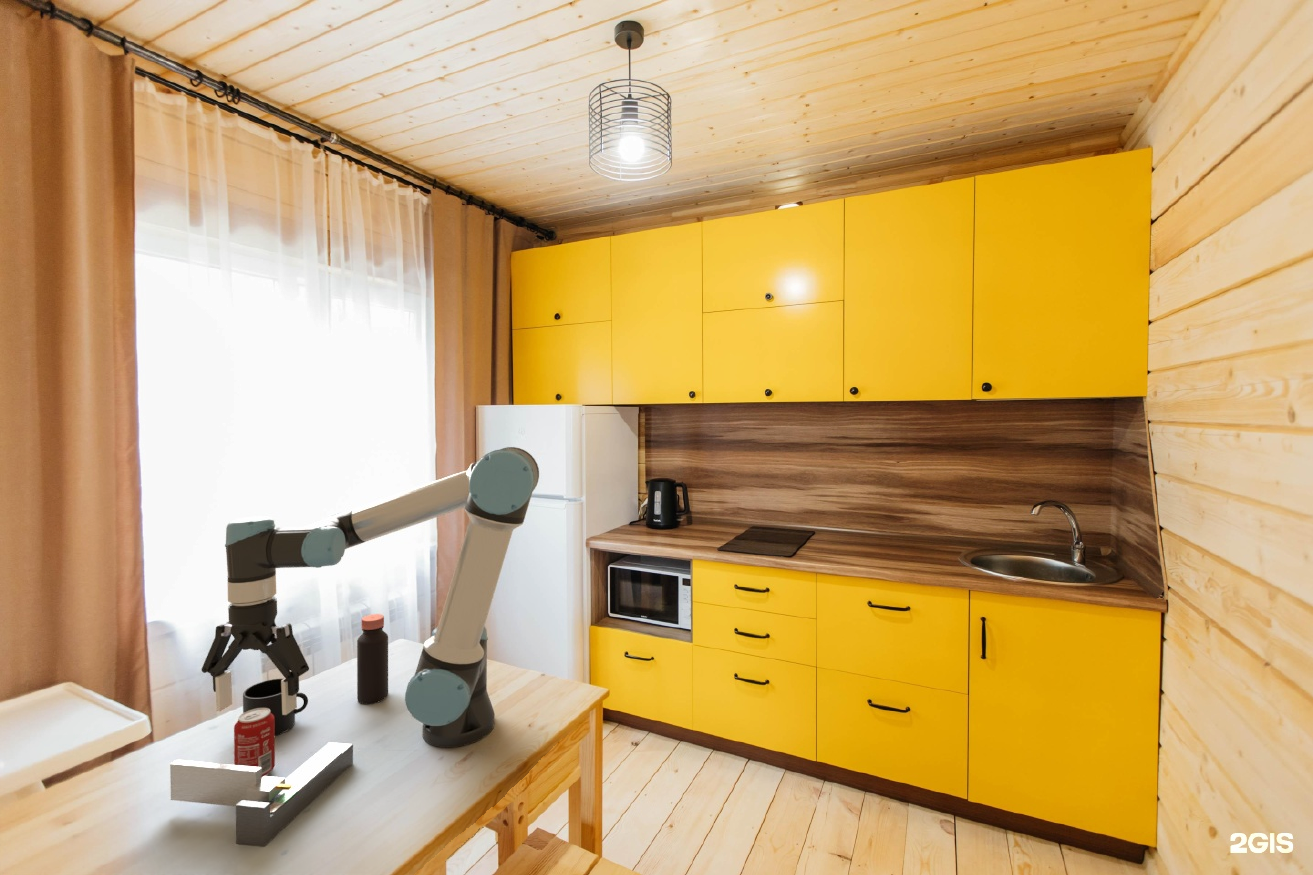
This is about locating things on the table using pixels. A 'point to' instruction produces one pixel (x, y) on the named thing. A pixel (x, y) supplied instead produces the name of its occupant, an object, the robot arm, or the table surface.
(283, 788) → the gauge paddle
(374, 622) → the bottle
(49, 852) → the table surface
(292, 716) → the mug
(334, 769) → the grey long bar
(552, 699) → the table surface
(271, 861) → the table surface
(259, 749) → the beverage can
